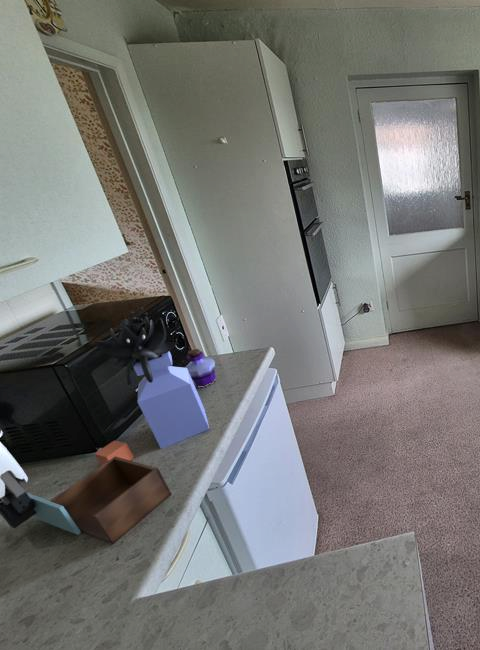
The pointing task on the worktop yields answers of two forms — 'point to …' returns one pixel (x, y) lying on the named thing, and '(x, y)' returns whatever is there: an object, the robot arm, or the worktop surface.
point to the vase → (157, 380)
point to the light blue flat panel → (45, 515)
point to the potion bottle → (200, 368)
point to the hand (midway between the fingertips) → (23, 512)
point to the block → (114, 452)
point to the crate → (114, 498)
